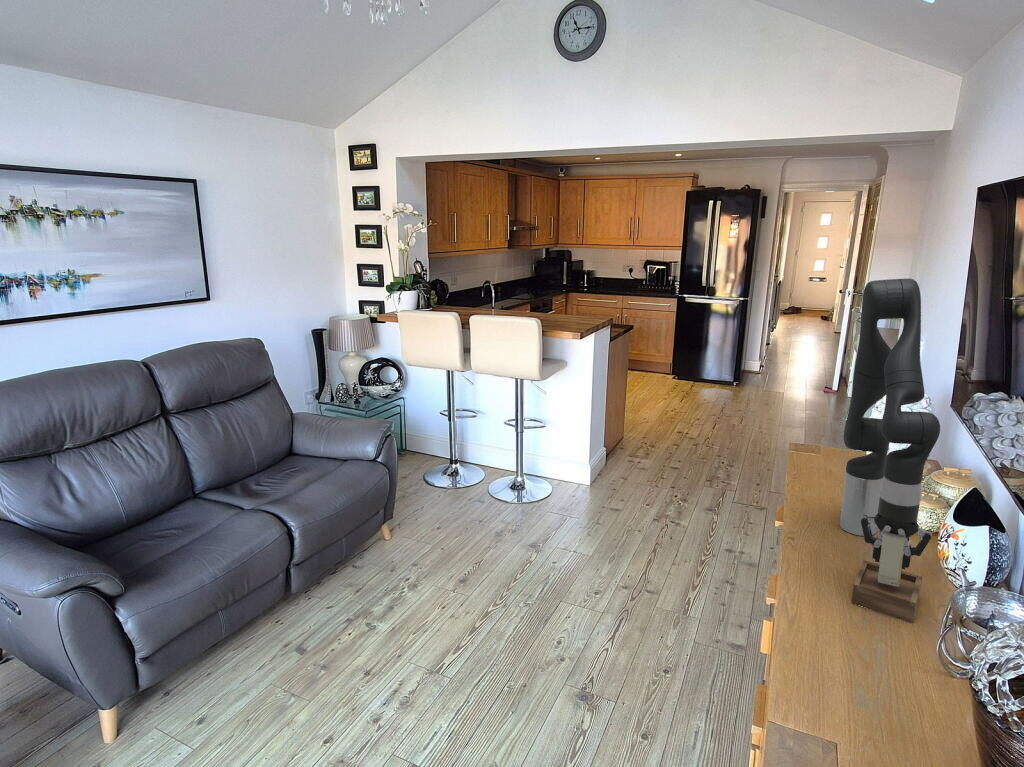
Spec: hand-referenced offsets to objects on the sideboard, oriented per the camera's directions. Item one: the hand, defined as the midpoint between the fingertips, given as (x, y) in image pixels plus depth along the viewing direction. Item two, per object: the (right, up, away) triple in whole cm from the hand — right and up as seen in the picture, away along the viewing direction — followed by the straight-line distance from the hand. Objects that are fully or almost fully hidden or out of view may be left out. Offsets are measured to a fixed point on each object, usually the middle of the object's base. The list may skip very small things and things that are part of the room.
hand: (890, 563), depth 135 cm
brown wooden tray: (+1, -10, +3) cm, 10 cm away
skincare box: (0, -4, +1) cm, 4 cm away
